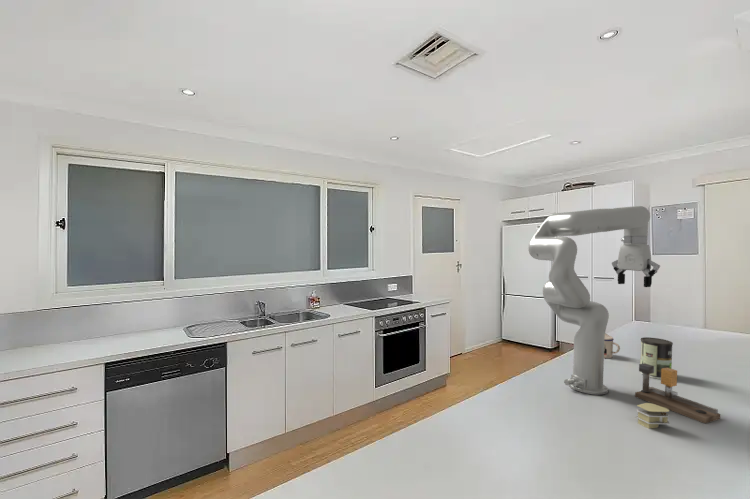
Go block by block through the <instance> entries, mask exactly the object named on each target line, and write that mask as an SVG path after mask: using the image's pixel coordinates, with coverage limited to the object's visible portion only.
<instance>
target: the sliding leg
mask: <svg viewBox="0 0 750 499" xmlns="http://www.w3.org/2000/svg"><path fill="white" fill-rule="evenodd" d="M660 384H662V385H664V391H665V397H666V398H667V399H670V398H672V396H675V395H677V396H679V395H678V392H677V391H676V390H675V391H674V390H673V387H676V386H678V370H676V369H673V368H671V369H670V368H662V369H661V379H660Z"/></svg>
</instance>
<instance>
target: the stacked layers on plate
mask: <svg viewBox="0 0 750 499" xmlns="http://www.w3.org/2000/svg"><path fill="white" fill-rule="evenodd" d="M636 406H637V407H639V408H638V409H636V412H637V413H638V414H637V415H636V416H635V418H636V419H637V424H638V425H640V426H643V427H644V428H646V429H650V428H651V429H655V428H656V429H657V428H659V425H669V424H670V421H668V419H669V417H670V415H669V413H668V412H670V410H669V409H667V408H664V407H661V406H658V405H656V404H653V403H650V402H644V403H640V404H637V405H636Z"/></svg>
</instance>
